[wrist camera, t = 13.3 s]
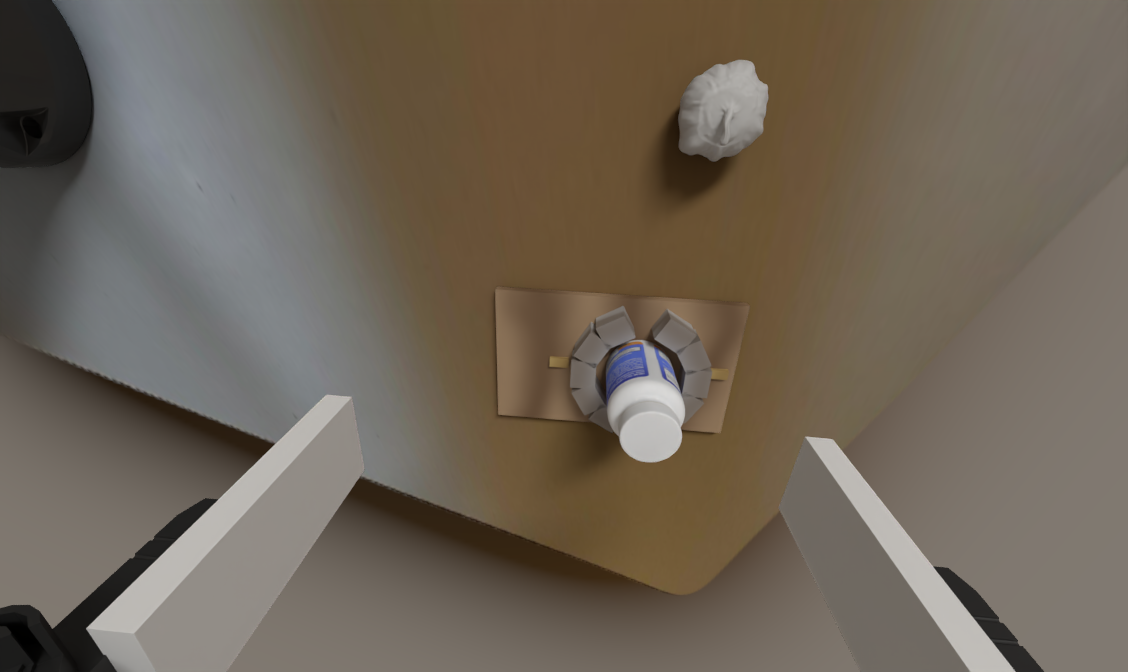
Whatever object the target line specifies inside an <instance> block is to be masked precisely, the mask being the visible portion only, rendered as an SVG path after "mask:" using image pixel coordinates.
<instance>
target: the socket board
mask: <svg viewBox="0 0 1128 672" xmlns="http://www.w3.org/2000/svg"><path fill="white" fill-rule="evenodd" d="M495 301H496V342H497V382H498V415H508V416H521V417H533V418H545V419H557V420H569V421H581V422H593V423H596V424H597V425H599V426H601V427H602V428H604V429H606V430H607V431H609V432H611V433H613V432H614V431H613V429H612V428H611V426H610V423H609V421H608V415H607V390H606V365H607V361H608V358H609V356H610V355H611V353H612V352H613V351H614V350H615V349H616V348H617V347H618V346H620V345H622V344H623V343H626V342H628V341H632V340H645V341H649V342H652V343H654V344H656V345H658V346H659V347H661V348H662V349H663V350H664V351H665V352H666V354H667V355H668V357H669V359H670V361H671V364H672V367H673V370H674V374H675V377H676V380H677V383H678V386H679V389H680V392H681V395H682V398H683V402H684V406H685V418H684V421H683V424H682V426H681V430H689V431H701V432H713V433H721V428H722V424H723V420H724V415H725V411H726V407H727V403H728V398H729V394H730V390H731V385H732V381H733V377H734V373H735V368H736V364H737V360H738V356H739V351H740V347H741V343H742V338H743V334H744V330H745V326H746V321H747V317H748V313H749V309H750V306H749V305H748V304H747V303H740V302H725V301H710V300H695V299H680V298H664V297H649V296H634V295H619V294H604V293H589V292H573V291H558V290H543V289H528V288H513V287H498V286H497V288H496V289H495Z"/></svg>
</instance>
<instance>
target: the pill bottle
mask: <svg viewBox="0 0 1128 672" xmlns="http://www.w3.org/2000/svg"><path fill="white" fill-rule="evenodd" d="M606 390H607V415H608V421H609V423H610V426H611V428H612V429H613V431H614V432H615V433H616V434H617V435H618V436H619V440H620V444H621V446H622V448H623V450H624V451H625V452H626V453H627V454H628V455H629V456H631V457H632V458H634V459H636V460H639V461H642V462H658V461H661V460H664V459H667V458H668V457H670V456H671V455H673V454H674V453H675V452H676V451H677V449H678V448H679V446H680V444H681V440H682V432H681V426H682V424H683V421H684V418H685V406H684V402H683V398H682V395H681V392H680V389H679V386H678V383H677V380H676V377H675V374H674V370H673V367H672V364H671V361H670V359H669V357H668V355H667V354H666V352H665V351H664V350H663V349H662V348H661V347H659V346H658V345H656V344H654V343H652V342H649V341H645V340H632V341H628V342H626V343H623V344H622V345H620V346H618V347H617V348H616V349H615V350H614V351H613V352H612V353H611V355H610V356H609V358H608V361H607V365H606Z"/></svg>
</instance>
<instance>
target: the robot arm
mask: <svg viewBox="0 0 1128 672" xmlns="http://www.w3.org/2000/svg"><path fill="white" fill-rule="evenodd" d="M90 117H91V93H90V86H89V81H88V76H87V72H86V68H85V65H84V62H83V59H82V56H81V54H80V51H79V48H78V46H77V44H76V42H75V39H74V37H73V35H72V33H71V31H70V29H69V27H68V26H67V24H66V22H65V20H64V19H63V17H62V15H61V14H60V12H59V11H58V9H57V8H56V6H55V5H54V3H53V2H52V0H0V167H1V168H19V167H41V166H49V165H54V164H57V163H59V162H62V161H64V160H65V159H67V158H69V157H70V156H71V155H73V154H74V153H75V152H76V151H77V149H78V148H79V147H80V145H81V144H82V142H83V140H84V138H85V136H86V134H87V131H88V127H89V124H90ZM363 471H364V464H363V458H362V452H361V447H360V441H359V435H358V429H357V424H356V418H355V412H354V406H353V401H352V397H346V396H335V395H326V396H324V397H323V398H322V399H321V400H320V401H319V402H318V403H317V404H316V405H315V406H314V407H313V408H312V409H311V410H310V411H309V412H308V413H307V414H306V415H305V416H304V417H303V418H302V419H301V420H300V421H299V422H298V423H297V424H296V425H295V426H294V427H293V428H292V429H291V430H290V431H289V432H287V433H286V434H285V435H284V436H283V437H282V438H281V439H280V440H279V441H278V442H277V443H276V444H275V445H274V446H273V447H272V448H271V449H270V450H269V451H268V452H267V453H266V454H265V455H264V456H263V457H262V458H261V459H260V460H259V461H258V462H257V463H256V464H255V465H254V466H253V467H252V468H250V469H249V470H248V472H246V473H245V474H244V475H243V476H242V477H241V478H240V479H239V480H238V481H237V482H236V483H235V484H234V485H233V486H232V487H231V488H230V489H229V490H228V491H227V492H226V493H225V494H224V495H223V496H222V497H221V498H220V499H219V500H218V499H207V498H205V499H203V500H202V501H200V502H198V503H197V504H195V505H193V506H192V507H190V508H189V509H187V510H185V511H183V512H182V513H180V514H178V515H177V516H176V517H175V518H174V519H173V520H172V521H170V522H169V523H168V524H167V525H166V526H165V527H164V528H163V529H162V530H161V531H159V532H158V533H157V534H156V535H155V536H154V539H153V540H152V541H149V542H147V543H146V544H145V545H144V546H143V547H142V548H141V549H140V550H139V551H138V552H137V553H135V557H134V558H133V559H131V558H130V559H129V560H128V561H127V562H126V563H124V564H123V565H122V566H121V567H120V568H119V569H118V570H117V571H116V572H115V573H114V574H112V575H111V576H110V577H109V578H108V579H107V580H106V581H105V582H104V583H103V584H101V585H100V586H99V587H98V588H97V589H96V590H95V591H94V592H93V593H92V594H91V595H90V596H88V597H87V598H86V599H85V600H84V601H83V602H82V603H81V604H80V605H78V607H76V608H75V609H74V610H73V611H72V612H71V613H70V614H69V615H68V616H66V617H65V618H64V619H63V620H62V621H61V622H60V623H59V624H58V625H57V626H56V627H55V628H53V629H52V628H51V627H50V625H49V624H48V622H47V621H46V619H45V618H44V617H43V615H42V614H41V613H40V611H39V610H37V609H35V608H33V607H32V606H30V605H11V606H7V607H4V608H0V672H226V671H227V670H228V669H229V667H230V666H231V664H232V663H233V661H234V660H235V658H236V657H237V655H238V654H239V652H240V651H241V650H242V648H243V647H244V645H245V644H246V642H247V640H248V639H249V638H250V636H251V635H252V633H253V632H254V631H255V629H256V628H257V626H258V625H259V623H260V622H261V620H262V619H263V617H264V616H265V614H266V613H267V612H268V610H269V609H270V607H271V606H272V604H273V603H274V601H275V600H276V598H277V597H278V595H279V594H280V593H281V591H282V590H283V588H284V587H285V585H286V584H287V582H288V580H289V579H290V578H291V576H292V575H293V573H294V572H295V570H296V569H297V567H298V566H299V565H300V563H301V562H302V560H303V559H304V557H305V556H306V554H307V553H308V551H309V550H310V548H311V547H312V546H313V544H314V542H315V541H316V540H317V538H318V537H319V535H320V534H321V533H322V531H323V530H324V528H325V527H326V525H327V524H328V522H329V521H330V519H331V518H332V516H333V515H334V513H335V512H336V510H337V509H338V508H339V506H340V505H341V503H342V502H343V500H344V499H345V497H346V496H347V494H348V493H349V491H350V490H351V489H352V487H353V486H354V484H355V483H356V481H357V480H358V478H359V477H360V475H361V474H362V473H363ZM779 510H780V512H781V514H782V516H783V517H784V520H785V522H786V524H787V526H788V528H789V530H790V532H791V534H792V536H793V538H794V540H795V542H796V544H797V546H798V548H799V550H800V552H801V554H802V556H803V557H804V560H805V562H806V564H807V566H808V568H809V570H810V572H811V574H812V576H813V578H814V579H815V582H816V584H817V586H818V588H819V590H820V592H821V594H822V596H823V598H824V600H825V602H826V604H827V606H828V608H829V610H830V612H831V614H832V616H833V618H834V620H835V622H836V624H837V626H838V628H839V630H840V632H841V634H842V636H843V638H844V640H845V642H846V644H847V646H848V648H849V650H850V652H851V654H852V656H853V658H854V660H855V662H856V664H857V666H858V668H859V670H860V672H1044V671H1043V670H1042V669H1041V667H1040V666H1039V665H1038V664H1037V663H1036V661H1035V660H1034V659H1033V658H1032V657H1031V656H1030V655H1029V653H1028V652H1027V651H1026V650H1025V649H1024V648H1023V646H1019V644H1018V640H1017V639H1016V638H1015V636H1014V635H1013V634H1012V633H1011V632H1010V631H1009V630H1008V628H1007V627H1006V626H1005V625H1004V624H1003V623H1000V622H999V617H998V616H997V615H996V614H995V613H994V611H993V610H992V609H991V608H990V607H989V606H988V604H987V603H986V602H985V601H984V600H983V598H982V597H981V596H980V595H979V594H978V593H977V592H976V590H974V589H973V588H972V587H971V586H969V585H968V584H967V583H966V582H965V581H963V580H962V579H961V578H960V577H958V576H957V575H956V574H955V573H954V572H952V571H951V570H950V569H949V568H944V567H933V566H932V565H931V564H930V562H929V561H928V560H927V559H926V557H925V556H924V555H923V553H922V552H921V551H920V550H919V549H918V547H917V546H916V545H915V543H914V542H913V541H912V540H911V538H910V537H909V536H908V535H907V533H906V532H905V531H904V529H903V528H902V527H901V526H900V524H899V523H898V522H897V521H896V519H895V518H894V517H893V516H892V514H891V513H890V512H889V510H888V509H887V508H886V507H885V505H884V504H883V503H882V501H881V500H880V499H879V498H878V496H877V495H876V494H875V492H874V491H873V490H872V489H871V487H870V486H869V485H868V484H867V482H866V481H865V480H864V479H863V477H862V476H861V475H860V473H859V472H858V471H857V470H856V468H855V467H854V466H853V465H852V463H851V462H850V461H849V460H848V458H847V457H846V456H845V454H844V453H843V452H842V451H841V449H840V448H839V447H838V445H837V444H836V443H835V442H834V440H833V439H826V438H814V437H805V438H804V441H803V444H802V446H801V449H800V452H799V455H798V457H797V460H796V463H795V465H794V468H793V471H792V473H791V476H790V479H789V481H788V484H787V487H786V490H785V492H784V495H783V498H782V500H781V503H780V506H779Z"/></svg>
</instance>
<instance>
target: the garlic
mask: <svg viewBox="0 0 1128 672" xmlns="http://www.w3.org/2000/svg"><path fill="white" fill-rule="evenodd" d="M767 101H768V86H767V85H766V84H764V83H762V82H761V81H759V80H758V78H757V75H756V73H755V67H754V65H753V63H752V62H750V61H746V60H736V61H734V62H730V63H728V64H725V65H721V64H717V65H714V66H713V67H712V68H710V69H708V70H707V71H706V72H705V73H703V74H702V75H700V76H696V77H695V78H694V79H693V80H692V81H691V83H690V84H689V85H688V87H687V88H686V90H685V93H684V94H683V96H682V98H681V102H680V112H679V116H678V123H679V129H680V140H679V149H680V151H681V152H683V153H686V154H688V155H694V154H700V155H703V156H704V157H707V158H708V159H709V160H710V161H713V162H715V161H718V160H719V159H720V158H722V157H731V156H734V155H736V154H738V153H739V152H740V151H741V150H742V149H743V148H746V147H748V146H749V145H751V144H752V143H753V141H754V140H755V139H756V138H757V137H759V136H760V135H761V134H762V132H763V120H764V117H765V115H766V104H767Z"/></svg>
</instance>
